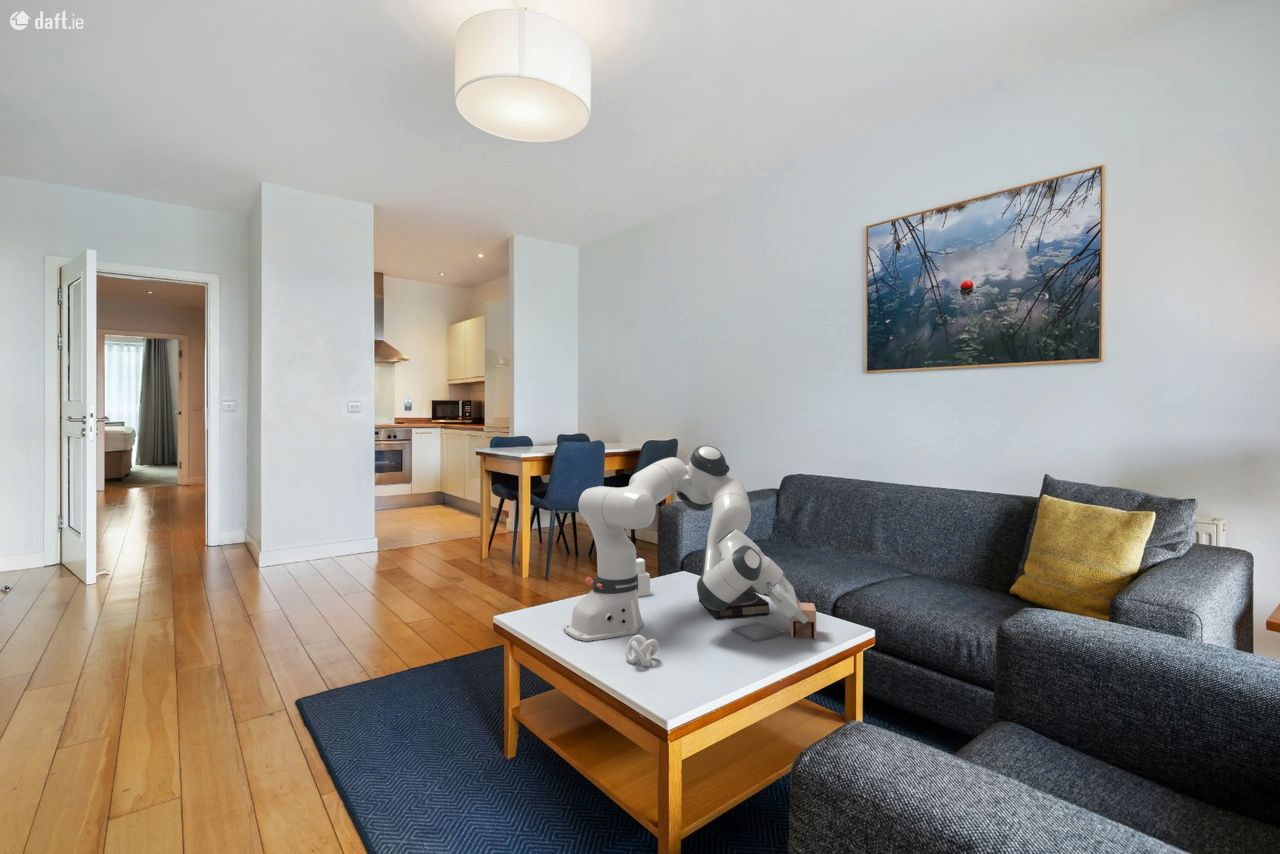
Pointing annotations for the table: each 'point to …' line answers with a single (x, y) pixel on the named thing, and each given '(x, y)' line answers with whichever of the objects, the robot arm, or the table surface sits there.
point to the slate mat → (757, 631)
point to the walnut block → (802, 629)
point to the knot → (641, 650)
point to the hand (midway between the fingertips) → (805, 616)
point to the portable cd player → (742, 607)
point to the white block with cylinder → (642, 578)
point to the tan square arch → (809, 612)
